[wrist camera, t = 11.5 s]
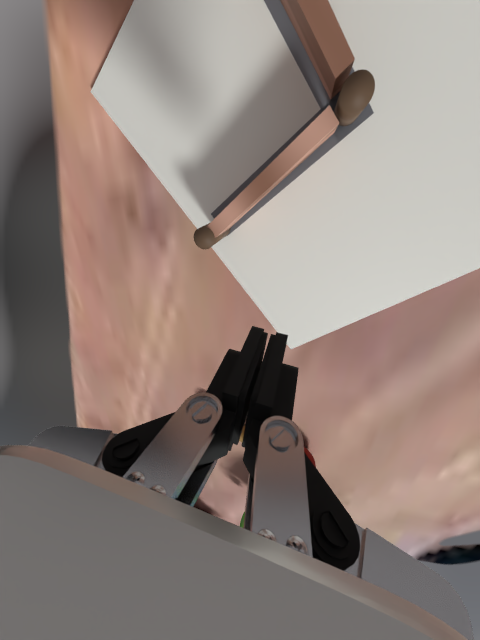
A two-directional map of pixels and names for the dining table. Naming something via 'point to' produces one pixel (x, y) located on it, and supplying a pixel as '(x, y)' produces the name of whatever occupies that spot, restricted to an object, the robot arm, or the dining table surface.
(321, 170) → the card
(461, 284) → the dining table surface
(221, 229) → the swing panel
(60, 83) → the dining table surface
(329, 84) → the base
